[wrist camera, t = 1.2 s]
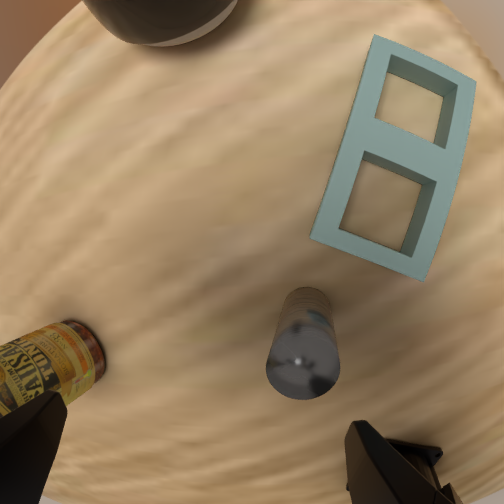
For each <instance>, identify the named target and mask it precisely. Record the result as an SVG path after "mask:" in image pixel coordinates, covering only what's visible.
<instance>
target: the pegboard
mask: <svg viewBox="0 0 504 504" xmlns="http://www.w3.org/2000/svg"><path fill="white" fill-rule="evenodd" d="M386 72H389V73H392V74H394V75H397V76H399V77H402V78H404V79H406V80H409V81H411V82H413V83H415V84H418V85H420V86H422V87H424V88H426V89H428V90H430V91H432V92H435V93H437V94H439V95H441V96H443V97H444V98H443V104H442V109H441V113H440V118H439V123H438V127H437V131H436V136H435V140H434V144H433V143H431V142H429V141H427V140H425V139H423V138H421V137H418V136H416V135H414V134H412V133H410V132H407V131H405V130H403V129H400V128H398V127H396V126H393V125H391V124H389V123H386V122H384V121H381V120H379V119H376V118H374V116H375V113H376V109H377V106H378V102H379V98H380V95H381V91H382V87H383V84H384V80H385V76H386ZM475 89H476V81H475V80H473V79H471V78H469V77H467V76H466V75H464V74H462V73H460V72H458V71H456V70H455V69H453V68H451V67H449V66H447V65H445V64H443V63H441V62H439V61H437V60H435V59H433V58H431V57H428V56H426V55H424V54H422V53H420V52H417V51H415V50H413V49H411V48H408V47H406V46H403V45H401V44H399V43H396V42H394V41H391V40H388V39H386V38H383V37H380V36H378V35H375V34H374V36H373V39H372V42H371V45H370V48H369V51H368V54H367V58H366V61H365V65H364V68H363V72H362V75H361V79H360V82H359V86H358V89H357V92H356V96H355V99H354V102H353V106H352V109H351V112H350V115H349V119H348V122H347V125H346V128H345V131H344V135H343V138H342V141H341V144H340V147H339V150H338V153H337V156H336V159H335V162H334V166H333V169H332V172H331V175H330V178H329V180H328V183H327V186H326V189H325V192H324V195H323V198H322V201H321V204H320V207H319V210H318V212H317V215H316V218H315V221H314V224H313V227H312V229H311V232H310V239H312V240H315V241H317V242H320V243H323V244H326V245H328V246H331V247H334V248H336V249H339V250H342V251H344V252H347V253H350V254H352V255H355V256H357V257H360V258H363V259H365V260H368V261H371V262H373V263H376V264H378V265H381V266H383V267H386V268H389V269H391V270H394V271H396V272H399V273H401V274H404V275H406V276H409V277H411V278H414V279H416V280H419V281H421V282H424V280H425V278H426V275H427V273H428V270H429V267H430V265H431V262H432V259H433V257H434V254H435V251H436V249H437V246H438V243H439V240H440V237H441V234H442V231H443V228H444V225H445V222H446V219H447V216H448V212H449V209H450V206H451V202H452V199H453V195H454V192H455V188H456V185H457V181H458V177H459V173H460V169H461V165H462V161H463V156H464V152H465V147H466V142H467V138H468V133H469V127H470V122H471V116H472V110H473V104H474V97H475ZM361 159H363V160H366V161H368V162H371V163H373V164H376V165H378V166H381V167H383V168H385V169H388V170H390V171H393V172H395V173H397V174H400V175H402V176H404V177H406V178H409V179H411V180H413V181H415V182H418V183H420V184H422V188H421V191H420V195H419V198H418V201H417V204H416V207H415V210H414V213H413V217H412V220H411V222H410V225H409V228H408V231H407V234H406V237H405V240H404V242H403V245H402V248H401V251H400V252H398V251H396V250H394V249H391V248H389V247H386V246H384V245H381V244H379V243H376V242H373V241H371V240H368V239H366V238H363V237H361V236H358V235H355V234H353V233H350V232H348V231H345V230H342V229H340V228H339V225H340V222H341V219H342V216H343V214H344V211H345V208H346V205H347V202H348V199H349V196H350V193H351V190H352V187H353V184H354V181H355V178H356V175H357V172H358V169H359V166H360V163H361Z"/></svg>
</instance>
